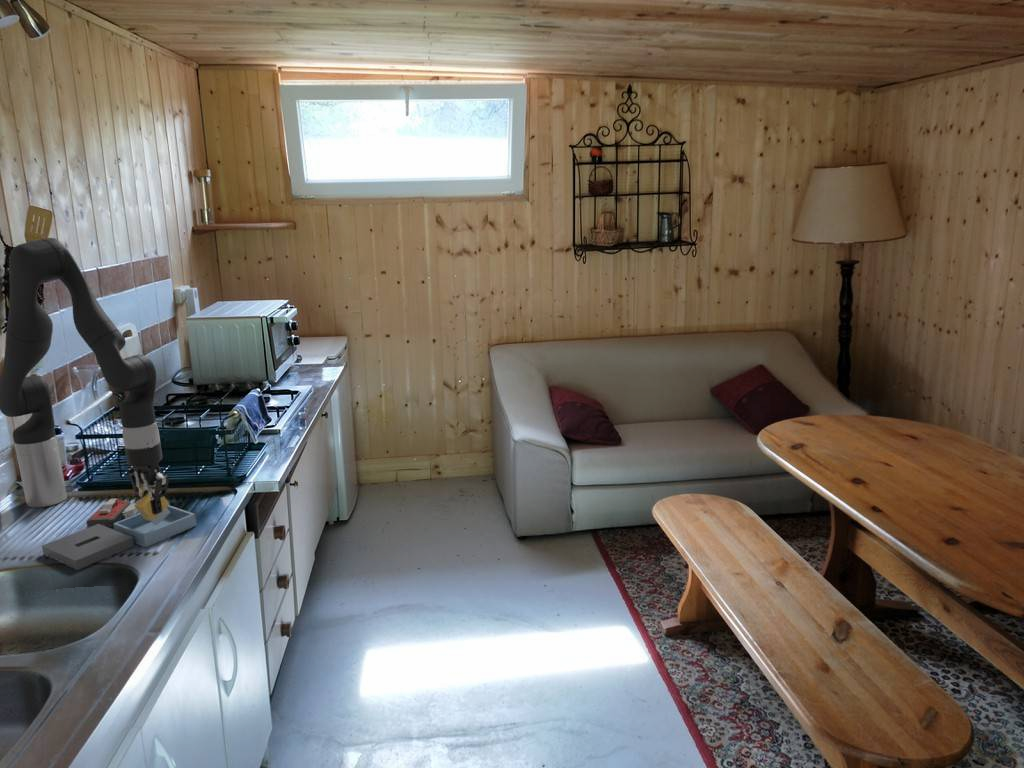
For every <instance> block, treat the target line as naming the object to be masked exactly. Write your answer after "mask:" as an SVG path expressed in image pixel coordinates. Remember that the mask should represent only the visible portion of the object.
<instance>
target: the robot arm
mask: <svg viewBox="0 0 1024 768" xmlns="http://www.w3.org/2000/svg"><path fill="white" fill-rule="evenodd" d="M8 259H9V260H8V271H9V273H8V275H9V279H8V280H9V305H8V306H9V307H8V317H7V324H6V332H5V343H4V344H5V346H4V356H3V364H2V367H1V372H0V412H1V413H2V414H3V415H4V416H5V417H9V418H16V417H21V416H26V415H30V414H31V416H30V417H29V419H28V420H27V421H25V422H24V423H22V424H21V425H20V426H18V427H16V428H15V429H14V430H13V431H12V438H13V439H12V440H13V445H14V449H15V454H16V458H17V462H18V463H17V464H18V467H19V472H20V479H21V482H22V488H23V493H24V494H23V495H24V497H25V502H26V506H27V507H29V508H45V507H50V506H54V505H57V504H59V503H62V502H64V501H65V500H66V499H67V498H68V495H67V489H66V483H65V478H64V477H65V476H64V473H63V466H62V462H61V458H60V457H61V455H60V451H59V447H58V442H57V436H56V430H55V425H56V424H55V419H54V411H53V402H52V395H51V391H50V387H49V384H48V382H47V381H46V379H45V378H44V376H42V375H37V374H36V375H31V376H30V375H28V374H30V372H31V371H32V370H33V369H34V368H35V367H36V366H37V365H38V364H39V363H40V362H41V361H42V359H43V358H44V357H45V356H46V355H47V353H48V352H49V349H50V348H51V345H52V344H51V343H52V338H53V331H54V330H53V328H54V326H53V325H54V323H53V320H52V318H51V316H50V315H49V314H48V312H47V311H46V310H45V309H44V308H43V306H41V304H40V303H39V302H38V290H39V288H40V286H41V285H42V284H45V283H49V282H53V281H56V280H60V281H61V282H62V283H63V285H64V286H65V287H66V289H67V290H68V292H69V294H70V297H71V304H72V305H71V306H72V318H73V323H74V326H75V329H76V331H77V333H78V334H79V335H80V337H81V338H82V339H83V341H84V342H85V343H86V345H87V346H88V347H89V348H90V350H91V351H92V352H93V353H94V356H95V357H96V358H95V359H96V360H97V361H96V362H97V363H98V366H99V369H100V370H101V373H102V375H103V377H104V380H105V381H106V383H107V384H108V385H109V386H110V387H111V388H112V389H114V390H115V391H118V392H122V393H123V392H125V393H126V392H128V391H129V392H128V395H127V396H126V398H124V399H123V400H122V401H121V402H120V404H119V414H120V420H121V427H122V440H123V447H124V451H125V459H126V463H127V465H128V466H130V468H127V469H126V472H125V473H126V474H127V476H128V480H129V481H130V483H131V487H132V489H133V491H134V492H135V493H138V496H139V497H140V498H143V497H144V496H145V495H146V494H147V493H149V497H150V499H151V500H150V501H151V507H152V513H153V514H155V515H156V514H158V513H161V512H162V505H161V497H163V496H164V497H166V496H167V493H168V487H169V480H170V477H169V476H168V475H167V474H166V475H163V474H162V473H161V468H160V466H159V463H160V462H161V461H162V459H163V457H164V456H163V451H162V446H161V439H160V438H161V437H160V431H159V428H158V425H157V419H156V413H155V408H154V407H155V406H154V402H155V401H154V399H155V395H156V385H157V370H156V367H155V364H154V363H153V361H152V360H151V359H150V358H149V357H148V356H147V355H144V354H134V355H131V356H127V357H125V358H123V356H122V354H121V353H120V351H122V350H123V349H124V347H125V346H126V339H125V337H124V335H123V334H122V333H121V331H120V330H119V329H118V328H117V326H116V325H115V324H114V322H113V321H112V320H111V318H110V317H109V316H108V315H107V314H106V312H105V310H104V309H103V308H102V306H101V305H100V303H99V301H98V300H97V298H96V296H95V294H94V292H93V291H92V288H91V287H90V284H89V283H88V281H87V279H86V277H85V276H84V274H83V272H82V270H81V269H80V266H79V265H78V263H77V261H76V260H75V258H74V256H73V255H72V253H71V252H70V250H69V249H68V248H67V246H66V245H65V244H64V243H63V242H62V241H61V240H59V239H57V238H55V237H47V238H46V237H45V238H41V239H37V240H32V241H28V242H23V243H21V244H20V243H19V244H18V245H16V246H14V247H12V249H11V251H10V254H9V258H8ZM154 489H155V491H154V494H153V490H154Z"/></svg>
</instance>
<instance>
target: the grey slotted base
mask: <svg viewBox="0 0 1024 768" xmlns="http://www.w3.org/2000/svg"><path fill="white" fill-rule="evenodd" d="M133 547H135V543H134V542H133V537H131V536H129V535H126V534H124V533H121V532H118V531H116V530H114V529H111V528H108V527H106V526H103V525H100V524H97V525H94V526H91V527H89V528H87V527H86V528H84V529H81V530H79V531H76V532H73V533H71V534H69V535H66V536H63V537H61V538H58V539H55V540H53V541H51V542H48V543H46V544H43V545H41V549H42V553H43V555H44V554H46V555H48V556H50V557H52V558H55V559H57V560H59V561H62V562H64V563H65V564H66V565H65V564H64V565H65V566H67V567H69V568H72V569H74V570H76V571H79V570H81V569H84V568H85V567H88V566H90V565H93V564H94V562H95V563H97V562H96V561H98V560H100V561H102V560H105V559H107V558H109V557H111V556H115V554H116V555H117V554H119V553H121V552H123V551H126V550H128V549H130V548H133ZM46 555H45V556H46ZM48 556H47V557H48ZM50 557H49V558H50ZM52 558H51V559H52ZM101 559H102V560H101ZM59 561H58V562H59ZM98 562H99V561H98ZM92 563H93V564H92Z"/></svg>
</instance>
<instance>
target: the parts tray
mask: <svg viewBox="0 0 1024 768" xmlns="http://www.w3.org/2000/svg"><path fill="white" fill-rule="evenodd" d="M167 508H168V510H169V511H170V514H168V515H167V516H166V517H165V518H164V519H163V520H162V521H161V522H160V523H159V524H158V525H157V526H155V525H154V524H153V523H152V522H151V521H150V520H147V519H144V518H143V517H142V515H141V514H140V513H139V512H138V513H137V514H136V515H134V516H132V517H129V518H126V519H124V520H121V521H119V522H116V523H114V524H113V525H114V529H113V530H116V531H118V532H121V533H124V534H126V535H129V536H131V537H133V542H134V544H136V545H138V546H141V547H143V548H148V547H150V546H152V545H154V544H158V543H160V542H162V541H164V540H168V539H169V538H170V537H173V536H175V535H178V534H180V533H182V532H185V531H187V530H190V529H192V528H194V527H197V520H196V514H195V513H193V512H190V511H187V510H184V509H181V508H179V507H175V506H172V505H169V506H167Z"/></svg>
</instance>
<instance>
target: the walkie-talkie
mask: <svg viewBox="0 0 1024 768" xmlns="http://www.w3.org/2000/svg"><path fill="white" fill-rule="evenodd" d="M136 503H137V502H136ZM136 503H135V502H134V503H132V502H131V501H130V500H129V501H128V500H121V499H120V498H109V499H108V500H107V501H105V503H104V504H102V506H100V507H99V508H98V509H97V510H96V511H95V512H94V513H93V514H92V515H91V516H90V517H89V518H87V520H85V521H86V522H85V523H86V528H89V527H91V526H94V525H97V524H100V525H103V526H106V527H108V528H111V529H113V530H114V525H113V524H114V523H116V522H119V521H121V520H124V519H126V518H129V517H132V516H134V515H137V514H139V511H138V510H137V509H136V507H135V506H134V505H135V504H136Z"/></svg>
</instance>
